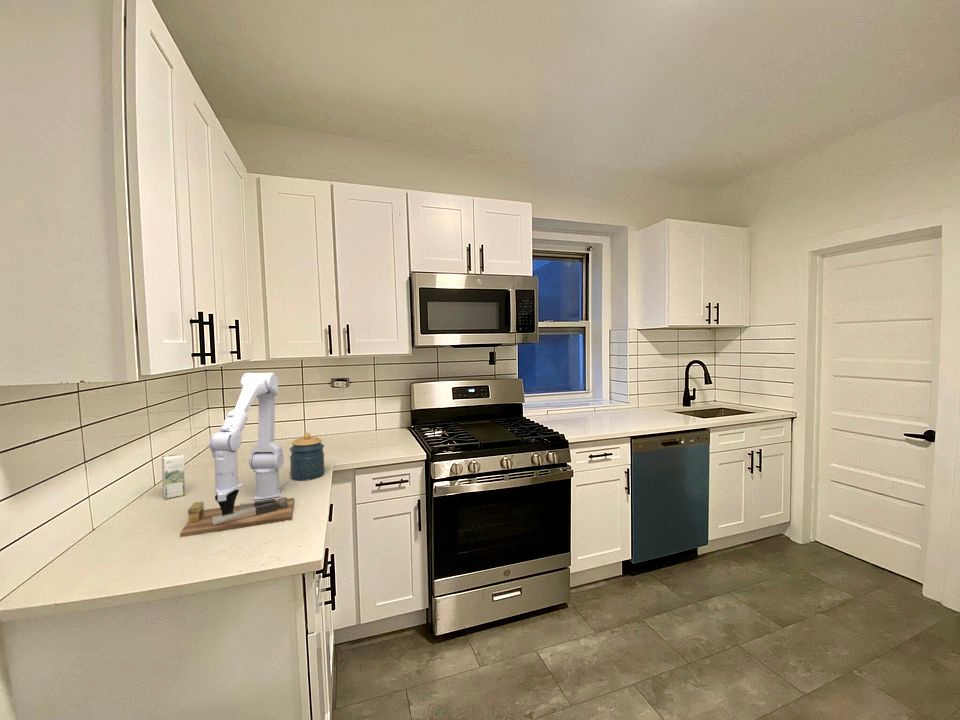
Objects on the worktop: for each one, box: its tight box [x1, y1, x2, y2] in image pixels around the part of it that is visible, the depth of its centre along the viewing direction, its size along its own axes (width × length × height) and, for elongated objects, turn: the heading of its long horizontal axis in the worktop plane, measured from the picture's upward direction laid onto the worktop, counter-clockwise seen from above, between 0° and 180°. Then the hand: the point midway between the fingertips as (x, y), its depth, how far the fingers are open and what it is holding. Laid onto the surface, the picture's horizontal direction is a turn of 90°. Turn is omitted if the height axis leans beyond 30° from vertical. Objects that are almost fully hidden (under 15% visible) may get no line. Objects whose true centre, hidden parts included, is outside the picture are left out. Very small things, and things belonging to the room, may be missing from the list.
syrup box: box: [161, 452, 186, 500], centre depth 143 cm, size 6×6×14 cm
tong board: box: [179, 496, 295, 538], centre depth 124 cm, size 16×28×4 cm, turn 112°
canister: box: [289, 432, 326, 481], centre depth 164 cm, size 13×13×18 cm
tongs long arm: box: [212, 502, 277, 525], centre depth 121 cm, size 2×17×2 cm, turn 130°
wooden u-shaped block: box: [187, 501, 205, 523], centre depth 120 cm, size 6×2×4 cm, turn 22°
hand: (227, 516), depth 120 cm, fingers closed
